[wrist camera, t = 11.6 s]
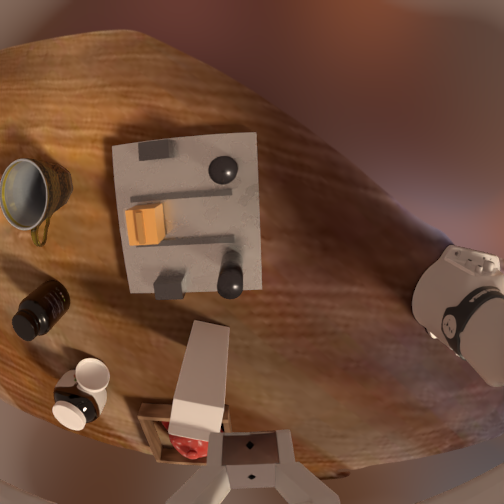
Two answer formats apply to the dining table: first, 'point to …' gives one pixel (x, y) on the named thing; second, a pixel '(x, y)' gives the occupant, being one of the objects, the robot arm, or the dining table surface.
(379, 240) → the dining table surface
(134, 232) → the block
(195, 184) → the grey control board
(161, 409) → the walnut tray rim
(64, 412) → the spread jar
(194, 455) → the butter dish
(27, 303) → the supplement bottle
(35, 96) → the dining table surface
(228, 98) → the dining table surface
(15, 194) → the ceramic cup
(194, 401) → the milk
